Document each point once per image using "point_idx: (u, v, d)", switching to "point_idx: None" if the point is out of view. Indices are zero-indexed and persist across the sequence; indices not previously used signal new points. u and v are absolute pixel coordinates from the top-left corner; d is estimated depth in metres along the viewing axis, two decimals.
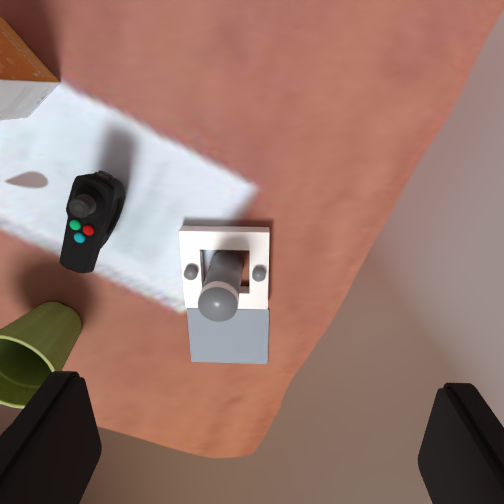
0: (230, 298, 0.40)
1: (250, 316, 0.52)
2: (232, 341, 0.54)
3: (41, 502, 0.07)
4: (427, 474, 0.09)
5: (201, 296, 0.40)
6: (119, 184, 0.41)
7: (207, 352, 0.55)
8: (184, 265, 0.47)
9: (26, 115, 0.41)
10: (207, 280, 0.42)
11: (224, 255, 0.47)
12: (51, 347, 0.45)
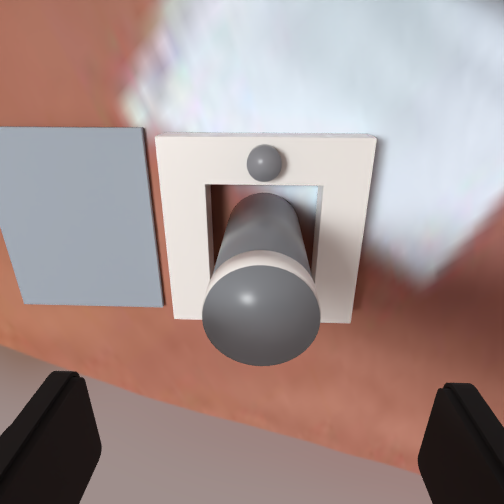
0: (283, 351, 0.14)
1: (142, 274, 0.24)
2: (66, 234, 0.23)
3: (41, 502, 0.07)
4: (427, 474, 0.09)
5: (292, 280, 0.13)
6: None
7: (14, 173, 0.21)
8: (281, 144, 0.18)
9: None
10: (301, 257, 0.15)
11: None
12: None
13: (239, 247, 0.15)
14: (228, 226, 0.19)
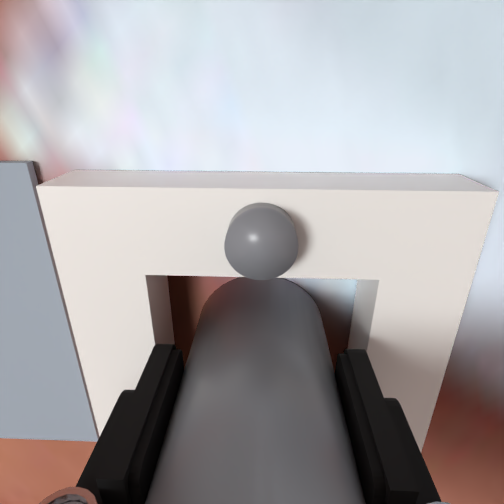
0: None
1: (59, 396, 0.14)
2: None
3: None
4: None
5: None
6: None
7: None
8: (297, 203, 0.09)
9: None
10: None
11: None
12: None
13: None
14: (190, 361, 0.10)
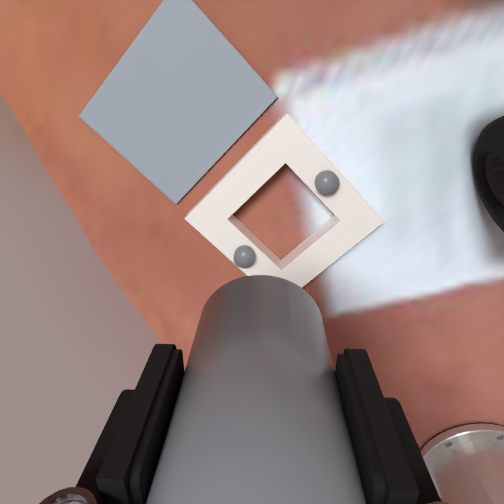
0: None
1: (185, 173, 0.29)
2: (164, 104, 0.27)
3: None
4: None
5: None
6: None
7: (173, 38, 0.25)
8: (342, 181, 0.27)
9: None
10: None
11: None
12: None
13: None
14: (191, 361, 0.10)
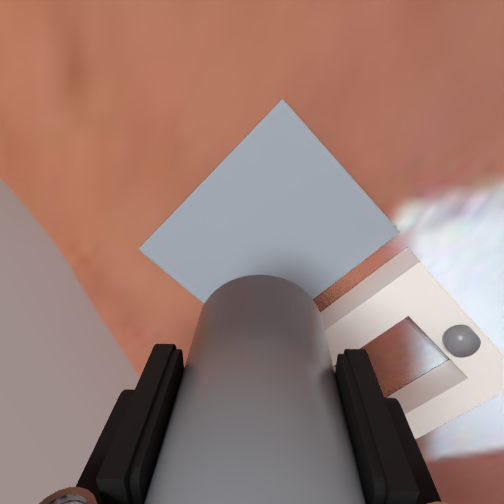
0: None
1: None
2: (250, 238, 0.21)
3: None
4: None
5: None
6: None
7: (271, 163, 0.19)
8: (478, 337, 0.21)
9: None
10: None
11: None
12: None
13: None
14: (189, 361, 0.10)
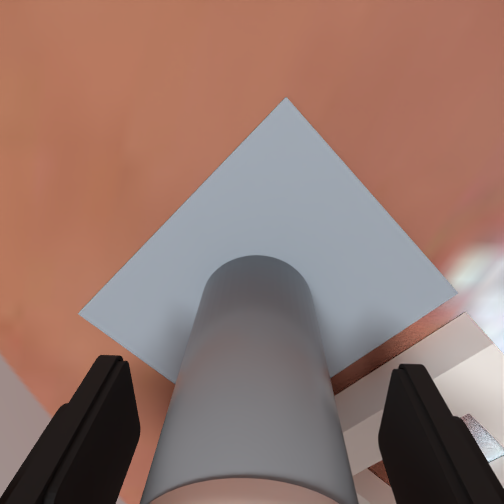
0: None
1: None
2: None
3: (97, 474, 0.08)
4: (384, 450, 0.10)
5: None
6: None
7: (268, 195, 0.13)
8: None
9: None
10: (334, 447, 0.07)
11: None
12: None
13: (199, 440, 0.07)
14: (195, 326, 0.11)
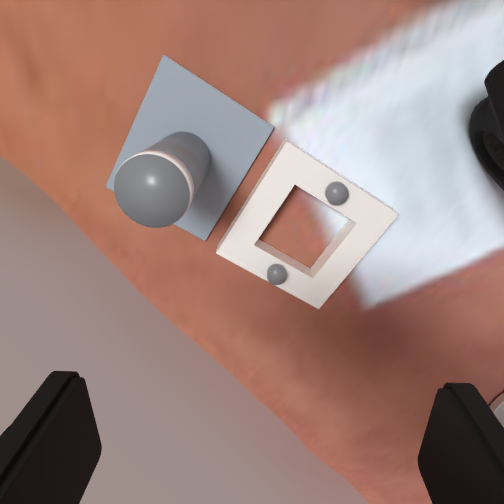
0: (174, 212, 0.22)
1: (207, 212, 0.32)
2: None
3: (41, 502, 0.07)
4: (427, 474, 0.09)
5: (158, 159, 0.20)
6: None
7: (171, 101, 0.28)
8: (350, 188, 0.29)
9: None
10: (179, 153, 0.23)
11: (206, 155, 0.29)
12: None
13: None
14: None
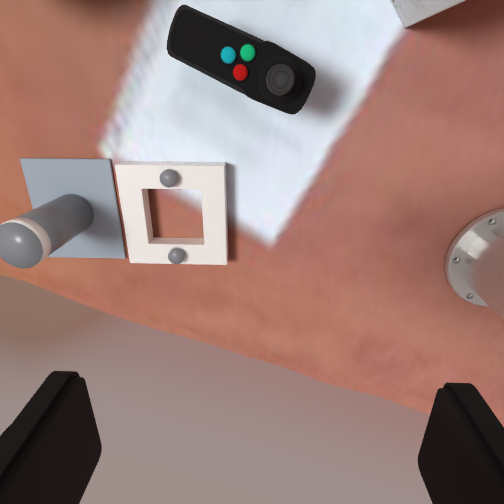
0: (36, 250, 0.32)
1: (112, 238, 0.43)
2: None
3: (41, 502, 0.07)
4: (427, 474, 0.09)
5: (5, 225, 0.32)
6: None
7: (42, 182, 0.40)
8: (177, 169, 0.37)
9: None
10: (30, 213, 0.34)
11: (76, 202, 0.39)
12: None
13: None
14: None
